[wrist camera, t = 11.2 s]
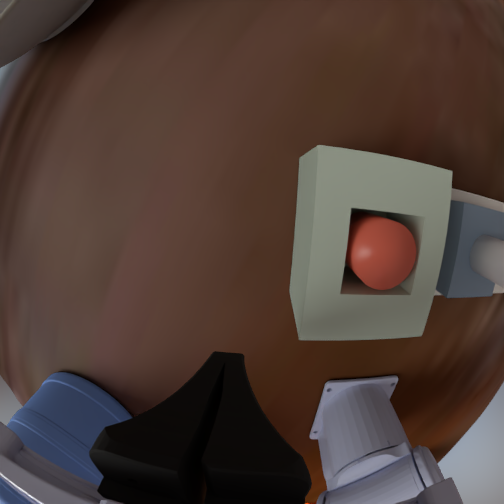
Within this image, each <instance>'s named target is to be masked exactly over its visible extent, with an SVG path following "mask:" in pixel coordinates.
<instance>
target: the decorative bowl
mask: <svg viewBox="0 0 504 504" xmlns="http://www.w3.org/2000/svg"><path fill="white" fill-rule="evenodd" d="M93 1H94V0H0V68H1V67H3V66H5V65H6V64H8V63H10V62H12V61H13V60H15V59H17V58H19V57H20V56H22V55H23V54H25V53H26V52H28V51H29V50H31V49H32V48H34V47H35V46H36V45H38V44H39V43H40V42H44V41H47V40H49V39H51V38H53V37H54V36H56V35H57V34H59V33H60V32H62V31H63V30H64V29H65V28H67V27H68V26H69V25H70V24H72V23H73V22H74V21H75V20H76V19H77V18H78V17H79V16H80V15H81V14H82V13H83V12H84V11H85V10H86V9H87V8H88V7H89V6H90V5H91V4H92V2H93Z"/></svg>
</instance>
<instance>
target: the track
mask: <svg viewBox="0 0 504 504" xmlns="http://www.w3.org/2000/svg"><path fill="white" fill-rule="evenodd" d="M451 200H454V201H460V202H465V203H470V204H474V205H478V206H482V207H485V208H489V209H493V210H496V211H500V212H504V203H502V202H499V201H496V200H493V199H490V198H486V197H483V196H479V195H476V194H472V193H469V192H465V191H461V190H457V189H453V188H452V171H450V170H446V169H443V168H439V167H435V166H431V165H428V164H423V163H419V162H415V161H411V160H406V159H402V158H397V157H392V156H387V155H382V154H376V153H371V152H365V151H359V150H352V149H346V148H338V147H331V146H323V145H317V146H316V147H315V148H313V149H312V150H310V151H309V152H307V153H306V154H305V155H303V156H302V157H300V158H299V177H298V193H297V209H296V222H295V235H294V247H293V259H292V269H291V280H290V290H289V292H290V297H291V301H292V306H293V311H294V316H295V321H296V326H297V331H298V336H299V340H370V339H390V338H405V337H417V336H422V333H423V330H424V327H425V324H426V321H427V318H428V315H429V311H430V308H431V304H432V301H433V297H434V295H442V294H441V293H439V292H438V291H437V290H435V289H436V285H437V281H438V277H439V272H440V268H441V263H442V258H443V253H444V247H445V241H446V235H447V228H448V220H449V212H450V202H451ZM356 212H369V213H372V214H375V215H378V216H381V217H384V218H387V219H390V220H393V221H396V222H398V223H401V224H402V225H404V226H405V227H407V229H408V230H409V231H410V232H411V234H412V236H413V238H414V240H415V244H416V258H415V263H414V265H413V268H412V270H411V272H410V273H409V275H408V276H407V277H406V279H405V280H404V281H402V282H401V283H400V284H399V285H397V286H395V287H393V288H390V289H386V290H377V289H373V288H371V287H369V286H367V285H366V284H365V283H364V282H363V281H362V280H361V279H360V278H359V277H358V276H357V275H356V274H355V273H354V272H353V270H352V269H351V268H350V267H349V266H348V265H347V264H346V263H345V258H346V251H347V243H348V234H349V225H350V215H351V214H353V213H356ZM493 293H504V288H502V287H501V286H499V285H497V284H496V283H495V286H494V290H493Z"/></svg>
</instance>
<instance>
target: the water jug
mask: <svg viewBox="0 0 504 504" xmlns="http://www.w3.org/2000/svg"><path fill="white" fill-rule="evenodd" d="M131 418H133V417H132V416H131V415H130V414H129V412H128V411H127V410H126V409H125V408H124V407H123V406H122V405H121V404H120V403H119V402H118V401H116V400H115V399H114V398H113V397H112V396H110V395H109V394H108V393H107V392H105V391H104V390H102V389H101V388H99V387H98V386H96V385H95V384H93V383H91V382H90V381H88V380H86V379H84V378H82V377H79V376H77V375H74V374H71V373H66V372H57V373H54V374H52V375H50V376H49V377H48V378H47V379H46V380H45V381H44V382H43V384H42V386H41V387H40V388H39V389H38V391H37V392H36V393H35V394H34V395H33V396H32V397H31V398H30V399H29V400H28V402H27V403H26V404H25V405H24V406H23V407H22V408H21V409H20V410H18V411H17V412H16V413H15V414H14V416H13V417H12V418H11V420H10V422H9V423H8V425H7V427H8V428H9V429H11V430H12V431H13V432H14V433H15V434H16V435H17V436H18V437H19V438H20V439H21V441H22V442H23V444H24V445H25V446H27V447H28V448H30V449H31V450H33V451H34V452H36V453H37V454H39V455H40V456H42V457H44V458H45V459H47V460H49V461H50V462H52V463H54V464H55V465H57V466H59V467H61V468H63V469H64V470H66V471H68V472H70V473H72V474H74V475H76V476H78V477H80V478H82V479H84V480H86V481H89V482H91V483H93V484H95V485H97V486H99V485H100V483H101V481H102V479H103V475H102V474H101V473H100V471H99V470H98V469H97V467H96V466H95V465H94V463H93V462H92V460H91V458H90V456H89V451H90V449H91V448H92V446H93V444H94V442H95V441H96V439H97V437H98V436H99V434H100V433H101V432H102V430H103V429H104V428H105V427H106V426H110V425H113V424H117V423H120V422H123V421H126V420H128V419H131ZM0 504H33V503H32V502H30V501H29V500H27V499H26V498H25V497H24V496H22V495H21V494H20V493H18V492H17V491H16V490H15V489H13V488H12V487H11V486H10V485H9V484H7V483H6V482H5V481H4V480H3V479H2V478H1V477H0Z"/></svg>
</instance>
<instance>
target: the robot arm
mask: <svg viewBox="0 0 504 504" xmlns="http://www.w3.org/2000/svg"><path fill="white" fill-rule="evenodd" d="M397 382H398V377H397V376H386V377H376V378H365V379H351V380H331V381H328V382H326V383H325V386H324V390H323V393H322V397H321V400H320V403H319V407H318V410H317V413H316V416H315V420H314V423H313V426H312V429H311V432H310V435H309V437H310V439H318V442H319V448H320V454H321V461H322V467H323V474H324V477H325V480H326V483H327V490H326V491H324V492H322V493H321V494H320V496H319V498H318V500H317V503H316V504H463V502H462V499H461V497H460V495H459V492H458V490H457V488H456V486H455V484H454V481H453V480H452V478H448V479H446V480H445V479H444V477H443V475H442V473H441V470H440V469H439V467H438V465H437V462H436V460H435V459H434V457H433V455H432V453H431V452H430V450H429V449H428V448H427V447H421V446H419V445H418V446H417V447H415V448H414V449H413V448H412V447H411V445H410V443H409V441H408V439H407V436H406V434H405V432H404V430H403V427H402V425H401V423H400V421H399V419H398V417H397V415H396V412H395V410H394V408H393V406H392V404H391V402H390V400H389V399H390V397H391V395H392V393H393V391H394V389H395V386H396V384H397ZM329 388H331V389H329ZM89 456H90V458H91V460H92V462H93V463H94V465H95V466H96V467H97V469H98V470H99V471H100V473H101V474H102V475H103V479H102V481H101V483H100V485H99V486H97V485H95V484H93V483H91V482H89V481H86V480H84V479H82V478H80V477H78V476H76V475H74V474H72V473H70V472H68V471H66V470H64V469H63V468H61V467H59V466H57V465H55V464H54V463H52V462H50V461H49V460H47V459H45V458H44V457H42V456H40V455H39V454H37V453H36V452H34V451H33V450H31V449H30V448H28V447H27V446H25V445H24V444H23V442H22V441H21V439H20V438H19V437H18V436H17V435H16V434H15V433H14V432H13V431H12V430H11V429H9V428H8V427H7V426H5V425H4V424H3V423H2V422H0V477H1V478H2V479H3V480H4V481H5V482H6V483H7V484H9V485H10V486H11V487H12V488H13V489H15V490H16V491H17V492H18V493H20V494H21V495H22V496H24V497H25V498H26V499H27V500H29V501H30V502H32V503H33V504H305V497H306V495H307V494H308V492H309V490H310V489H311V485H312V483H311V478H310V474H309V471H308V469H307V466H306V464H305V462H304V460H303V457H302V456H301V455H300V454H299V453H297V452H296V451H295V450H294V449H293V448H292V447H291V446H290V445H289V444H288V443H287V442H286V441H285V440H284V439H283V438H282V437H281V436H280V434H279V433H278V432H277V431H276V429H275V428H274V427H273V425H272V424H271V423H270V421H269V420H268V418H267V417H266V415H265V414H264V412H263V411H262V409H261V407H260V405H259V403H258V402H257V400H256V397H255V395H254V393H253V391H252V388H251V386H250V383H249V380H248V377H247V374H246V369H245V364H244V355H243V354H238V353H226V352H216V351H214V352H213V353H212V354H211V356H210V357H209V358H208V360H207V361H206V362H205V363H204V364H203V366H202V367H201V368H200V369H199V370H198V371H197V372H196V373H195V375H194V376H193V377H192V378H191V379H190V380H189V381H188V382H186V383H185V384H184V385H183V386H182V387H181V388H180V389H179V390H178V391H176V392H175V393H174V394H173V395H171V396H170V397H169V398H167V399H166V400H164V401H163V402H161V403H160V404H158V405H157V406H155V407H153V408H152V409H150V410H148V411H146V412H144V413H142V414H140V415H138V416H136V417H133V418H131V419H128V420H126V421H123V422H120V423H117V424H113V425H110V426H106V427H105V428H104V429H103V430H102V432H101V433H100V434H99V436H98V437H97V439H96V441H95V442H94V444H93V446H92V448H91V449H90V451H89Z"/></svg>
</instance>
